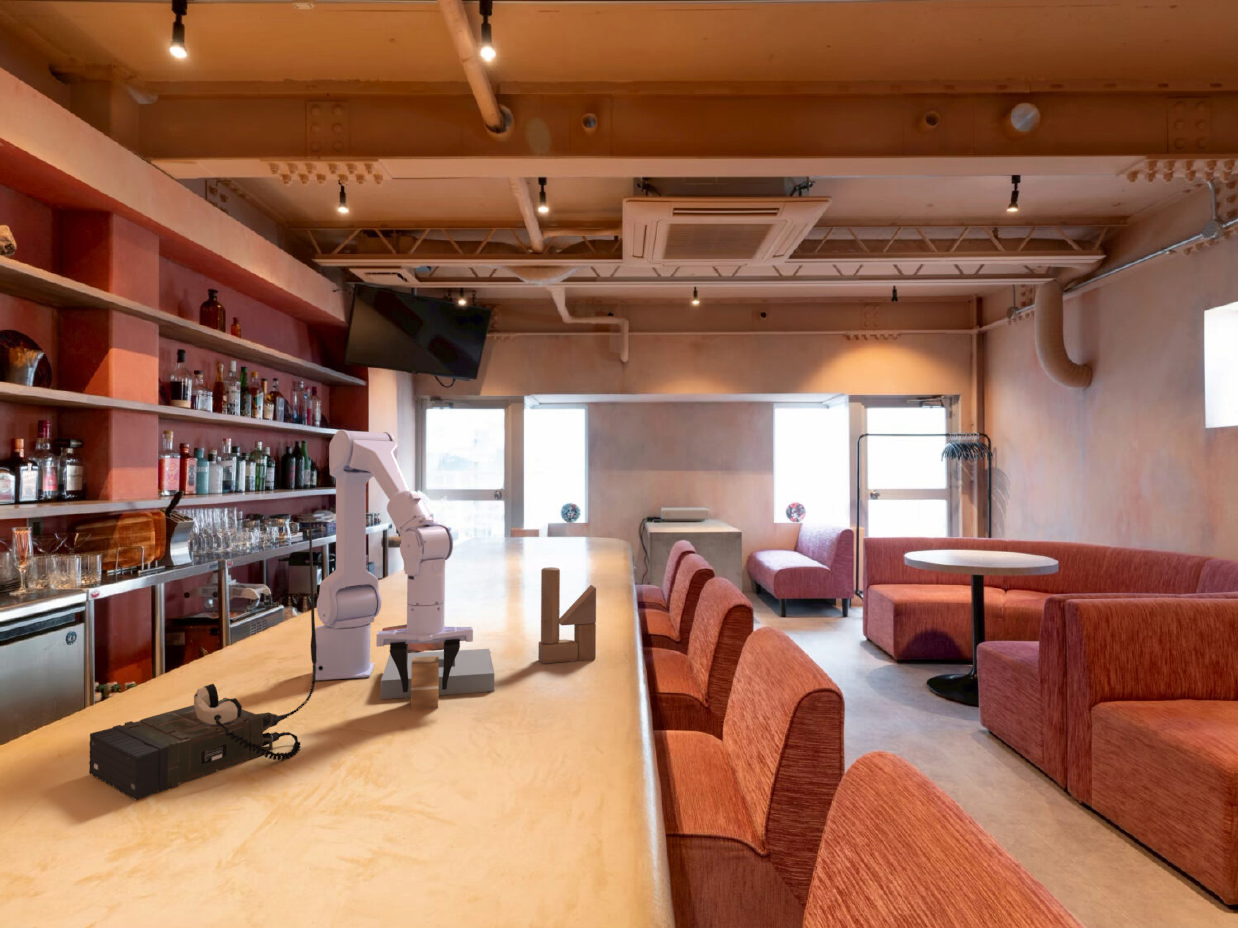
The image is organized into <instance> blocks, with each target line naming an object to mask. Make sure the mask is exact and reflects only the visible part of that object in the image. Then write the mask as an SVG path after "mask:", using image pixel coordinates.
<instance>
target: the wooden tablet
mask: <svg viewBox="0 0 1238 928" xmlns="http://www.w3.org/2000/svg"><path fill="white" fill-rule="evenodd" d="M406 628H407V623H406V624H400V625H396V626H395V625H394V626H388V627H383V628H382V630H381V631H390V630H398V629H406ZM436 651H444V642H434V643H415V644H408V653H420V652H436Z"/></svg>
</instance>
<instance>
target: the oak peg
mask: <svg viewBox="0 0 1238 928" xmlns="http://www.w3.org/2000/svg"><path fill="white" fill-rule="evenodd" d="M438 689H439V656H429V657H413V659H412V664H411V697H410V710H411V709H418V710H428V708H431V709H438V708H439V695H438Z"/></svg>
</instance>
